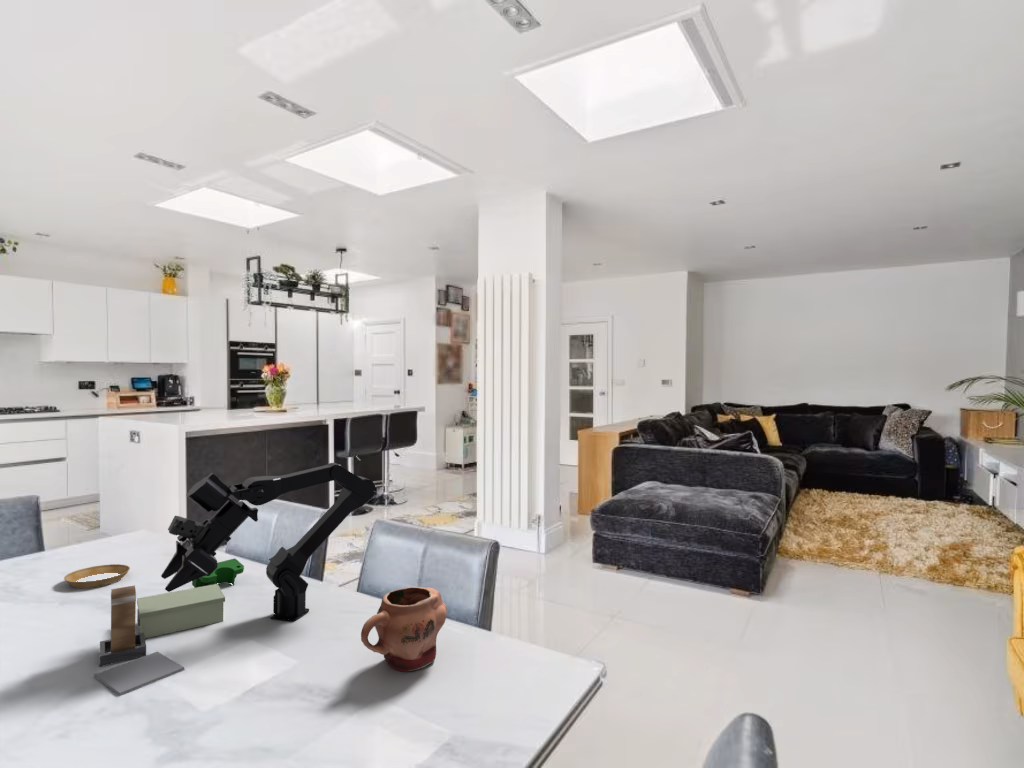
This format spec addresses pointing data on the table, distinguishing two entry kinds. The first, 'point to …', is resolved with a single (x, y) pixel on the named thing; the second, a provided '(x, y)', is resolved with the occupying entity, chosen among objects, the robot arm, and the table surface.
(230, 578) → the clamp
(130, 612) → the banded wooden block
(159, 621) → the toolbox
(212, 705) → the table surface
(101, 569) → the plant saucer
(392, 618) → the terracotta mug
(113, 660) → the dark grey square frame
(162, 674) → the mat
